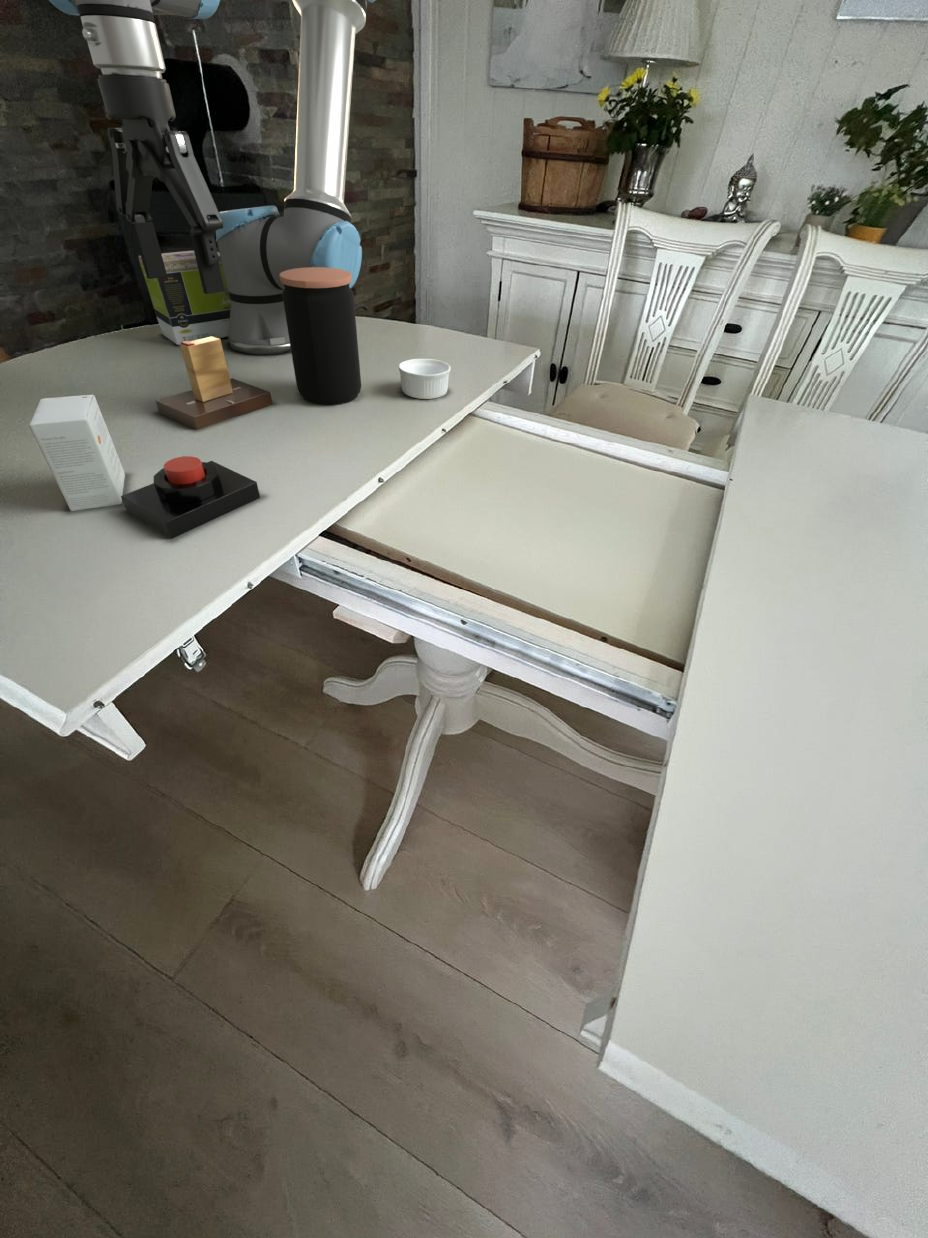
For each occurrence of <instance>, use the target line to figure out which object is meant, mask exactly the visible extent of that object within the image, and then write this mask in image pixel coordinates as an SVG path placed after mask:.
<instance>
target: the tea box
mask: <svg viewBox="0 0 928 1238" xmlns="http://www.w3.org/2000/svg"><path fill="white" fill-rule="evenodd" d="M217 253H218V257H219V266H220V271H221V276H222V280H223V285H224V290H225V291H222V292H216V293H210V294H205V293H204V291H203V287H202V283H201V278H200V274H199V270H198V266H197V261H196V257H195V253H194V250H185V251H184V250H183V251H175V252H173V251H172V252H164V253H162V252H161V254H162V258H163V262H164V265H165V269H166V273H167V277H161V278H154V279H148V278H147V276H146V272H145V269H144V265H143V262H142V258H141V255H138V256H137V258H138V262H139V265H140V269H141V271H142V275H143V277H144V280H145V284H146V286H147V291H148V294H149V296H150V300H151V303H152V307H153V310H154V313H155V316H156V320H157V323H158V326H159V328H160V331H161V333H162V335H163V336H164V337H165V338H167V339H169V340H170V341H171V342H172V343H174V344H175V345H177V346H180V344H181V342H183V341H189V342H190V341H194V340H198V339H202V338H207V337H211V336H212V337H215V338H219V339H221V338H229V337H228V336H229V323H230V310H231V302H230V297H229V292H228V288H227V284H226V279H225V275H224V270H223V266H222V262H221V257H220V253H219V251H217Z"/></svg>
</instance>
